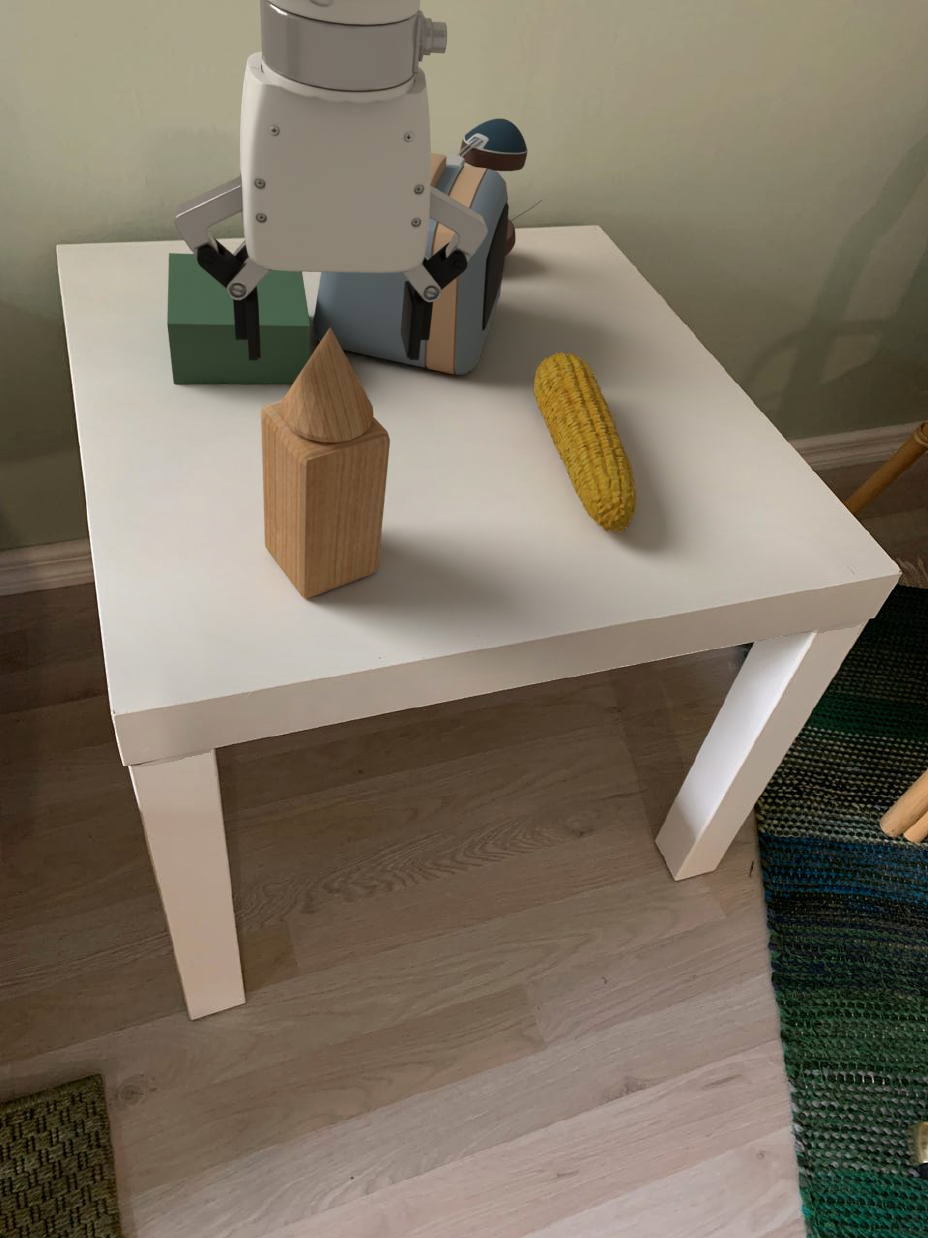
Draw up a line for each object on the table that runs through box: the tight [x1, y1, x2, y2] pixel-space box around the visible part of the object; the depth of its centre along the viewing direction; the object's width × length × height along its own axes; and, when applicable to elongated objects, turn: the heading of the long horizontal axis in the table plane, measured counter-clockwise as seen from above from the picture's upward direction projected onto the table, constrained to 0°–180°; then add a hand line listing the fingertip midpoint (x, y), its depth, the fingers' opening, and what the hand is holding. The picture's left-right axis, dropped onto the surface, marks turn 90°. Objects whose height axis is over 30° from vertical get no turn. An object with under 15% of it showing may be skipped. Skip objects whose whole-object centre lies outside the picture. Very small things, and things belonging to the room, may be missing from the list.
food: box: [533, 351, 638, 533], centre depth 82 cm, size 21×6×6 cm, turn 13°
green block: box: [166, 252, 311, 385], centre depth 88 cm, size 12×12×6 cm
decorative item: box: [260, 327, 391, 599], centre depth 65 cm, size 7×7×20 cm
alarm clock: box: [312, 152, 510, 375], centre depth 90 cm, size 16×16×16 cm
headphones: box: [446, 117, 543, 258], centre depth 101 cm, size 6×15×22 cm
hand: (332, 347), depth 59 cm, fingers open, 9 cm apart
